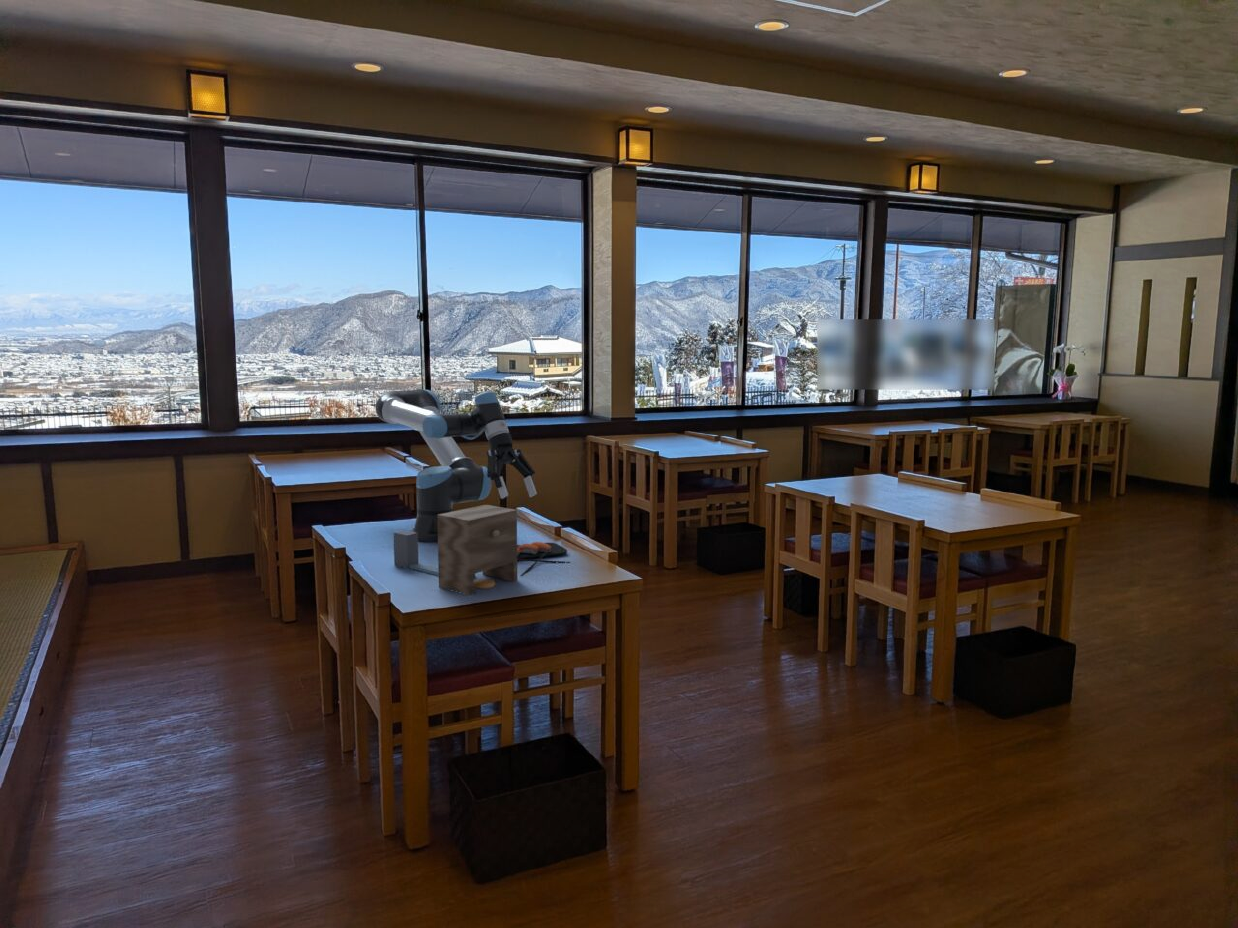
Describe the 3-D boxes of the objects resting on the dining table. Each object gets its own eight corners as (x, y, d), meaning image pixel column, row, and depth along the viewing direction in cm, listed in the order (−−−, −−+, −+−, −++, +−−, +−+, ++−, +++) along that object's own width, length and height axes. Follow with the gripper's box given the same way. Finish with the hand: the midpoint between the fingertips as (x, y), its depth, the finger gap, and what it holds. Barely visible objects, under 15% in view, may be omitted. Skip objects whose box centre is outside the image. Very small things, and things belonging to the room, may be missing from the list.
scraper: (387, 567, 250) (386, 533, 249) (411, 560, 257) (410, 528, 256) (451, 583, 234) (450, 548, 233) (475, 576, 241) (474, 541, 240)
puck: (468, 586, 233) (468, 582, 232) (484, 581, 237) (483, 577, 237) (483, 590, 229) (483, 586, 229) (499, 585, 234) (499, 581, 234)
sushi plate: (553, 547, 278) (553, 535, 278) (590, 570, 251) (590, 557, 251) (466, 556, 266) (466, 544, 265) (495, 580, 239) (494, 567, 239)
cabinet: (438, 587, 231) (437, 514, 228) (486, 572, 245) (485, 504, 242) (473, 596, 223) (472, 521, 220) (520, 580, 237) (520, 510, 234)
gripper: (479, 430, 267) (500, 492, 262) (531, 432, 287) (552, 490, 282) (463, 441, 271) (484, 502, 266) (516, 442, 291) (536, 499, 286)
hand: (519, 496), depth 274 cm, fingers open, 13 cm apart
